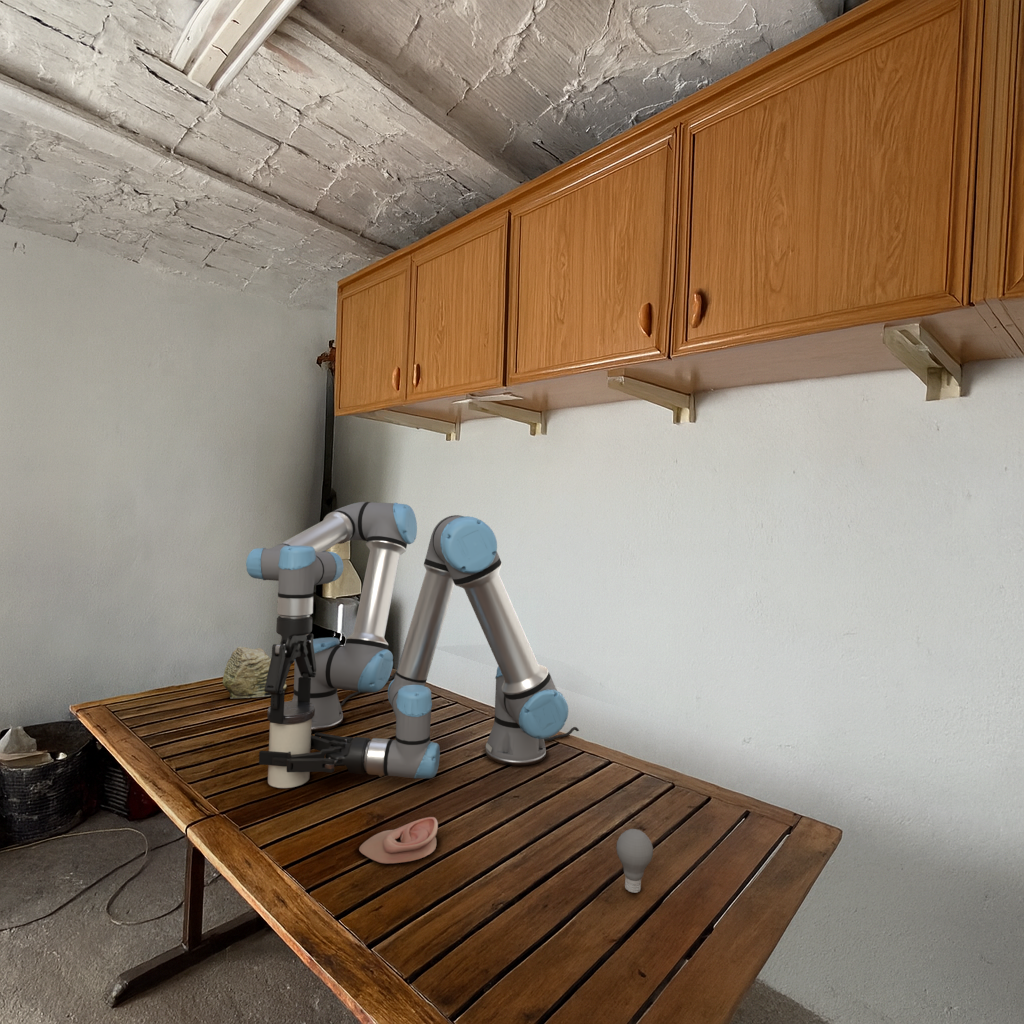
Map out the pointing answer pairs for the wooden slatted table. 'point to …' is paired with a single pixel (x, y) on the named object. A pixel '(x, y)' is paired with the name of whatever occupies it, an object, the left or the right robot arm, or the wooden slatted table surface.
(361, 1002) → the wooden slatted table surface
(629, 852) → the light bulb
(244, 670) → the fossil
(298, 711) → the lid
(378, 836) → the anatomical model
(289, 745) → the jar
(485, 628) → the right robot arm
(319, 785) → the wooden slatted table surface
